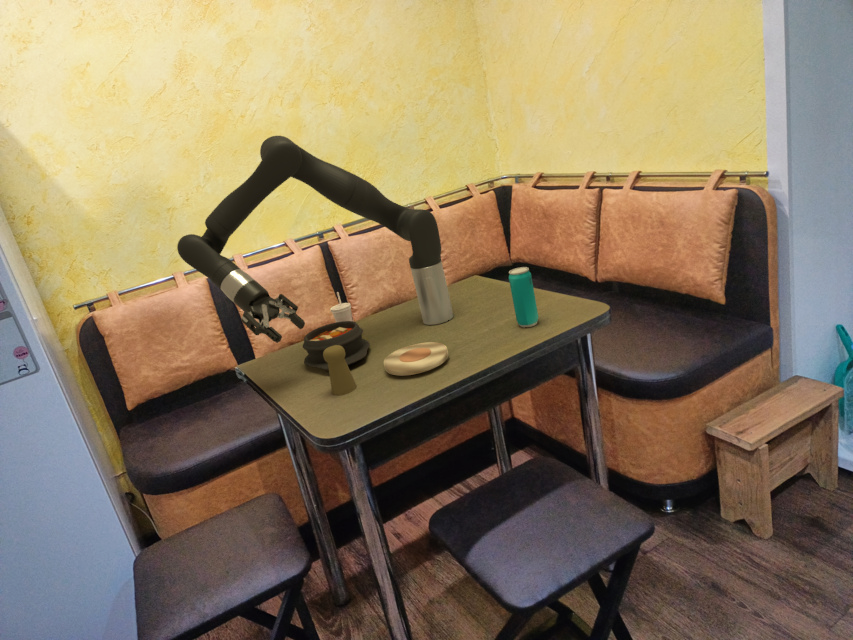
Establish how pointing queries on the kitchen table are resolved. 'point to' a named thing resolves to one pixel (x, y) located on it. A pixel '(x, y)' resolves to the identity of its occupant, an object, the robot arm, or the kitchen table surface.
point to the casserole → (335, 343)
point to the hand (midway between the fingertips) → (291, 333)
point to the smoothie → (342, 311)
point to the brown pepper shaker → (339, 370)
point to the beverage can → (523, 297)
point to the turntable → (416, 358)
